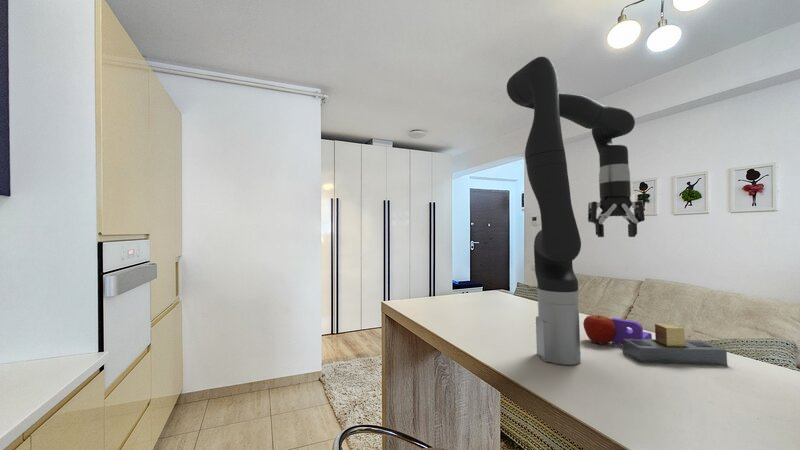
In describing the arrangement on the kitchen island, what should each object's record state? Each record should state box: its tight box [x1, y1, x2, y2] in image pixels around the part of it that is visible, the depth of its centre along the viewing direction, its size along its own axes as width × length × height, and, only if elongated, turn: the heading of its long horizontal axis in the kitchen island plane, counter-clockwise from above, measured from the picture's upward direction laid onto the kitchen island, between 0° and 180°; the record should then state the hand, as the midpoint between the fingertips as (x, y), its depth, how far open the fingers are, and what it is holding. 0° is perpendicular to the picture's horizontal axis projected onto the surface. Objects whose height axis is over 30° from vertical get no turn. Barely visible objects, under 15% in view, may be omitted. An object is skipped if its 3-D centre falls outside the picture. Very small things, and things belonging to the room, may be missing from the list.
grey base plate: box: [622, 338, 728, 366], centre depth 79 cm, size 19×7×4 cm, turn 84°
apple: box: [582, 315, 616, 345], centre depth 91 cm, size 8×8×8 cm
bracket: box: [610, 317, 653, 346], centre depth 92 cm, size 12×7×7 cm, turn 131°
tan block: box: [654, 323, 686, 348], centre depth 79 cm, size 4×4×8 cm
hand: (616, 237), depth 92 cm, fingers open, 8 cm apart
